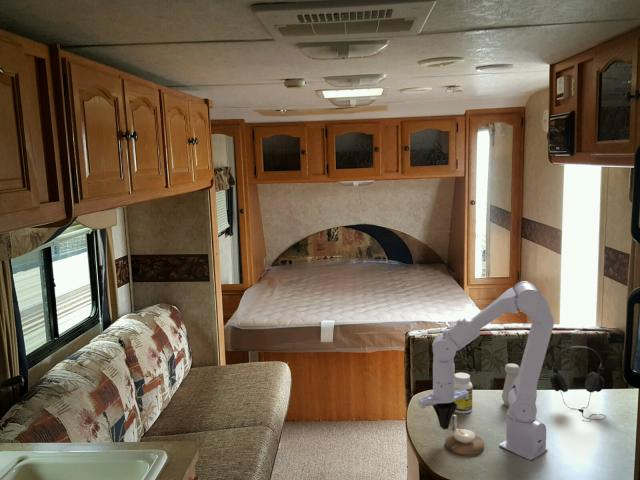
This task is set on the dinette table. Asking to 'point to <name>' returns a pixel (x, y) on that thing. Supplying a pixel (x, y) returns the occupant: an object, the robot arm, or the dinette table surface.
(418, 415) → the dinette table surface
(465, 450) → the base
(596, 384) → the headphones
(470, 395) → the pill bottle
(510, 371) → the salt shaker
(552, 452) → the dinette table surface
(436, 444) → the dinette table surface
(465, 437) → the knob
